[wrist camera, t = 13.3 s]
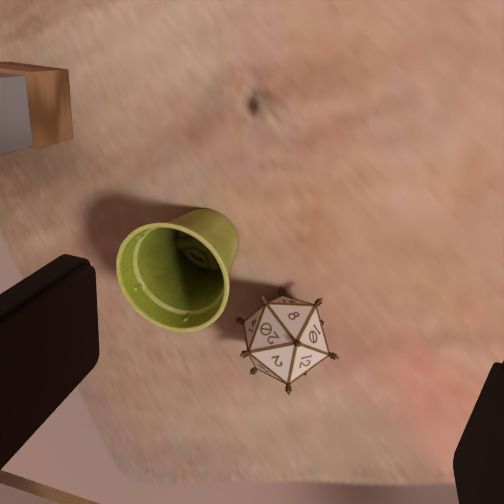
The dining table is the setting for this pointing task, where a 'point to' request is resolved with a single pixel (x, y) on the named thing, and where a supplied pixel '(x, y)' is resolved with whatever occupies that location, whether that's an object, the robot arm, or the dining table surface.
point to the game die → (285, 338)
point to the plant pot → (179, 269)
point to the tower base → (45, 102)
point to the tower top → (14, 114)
